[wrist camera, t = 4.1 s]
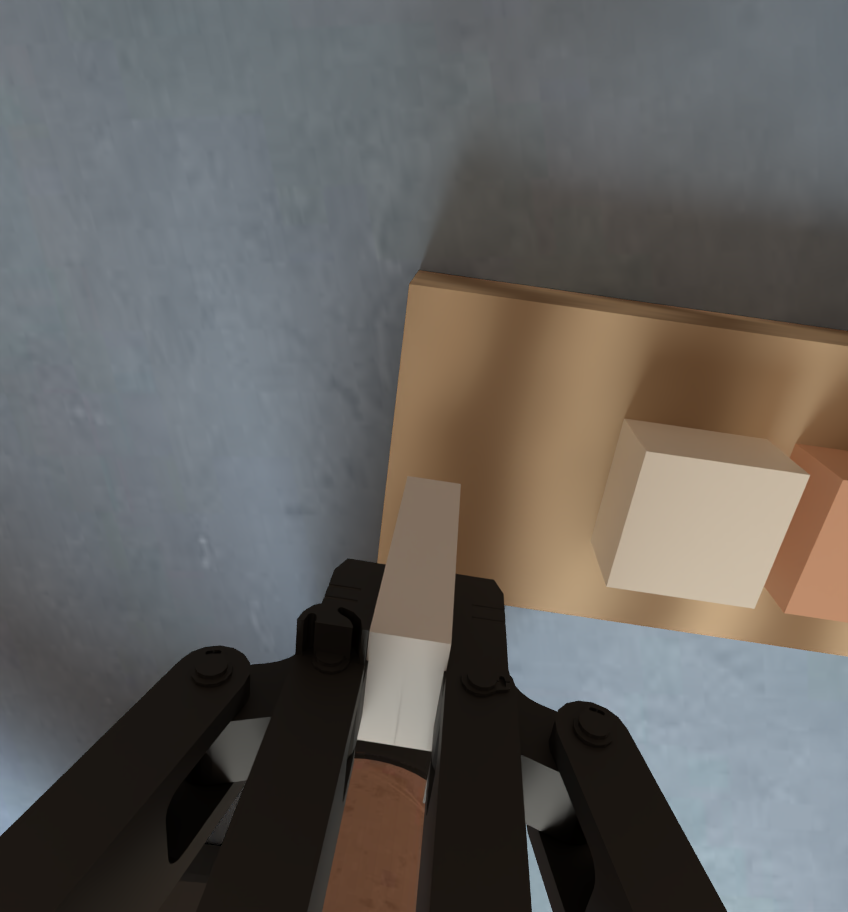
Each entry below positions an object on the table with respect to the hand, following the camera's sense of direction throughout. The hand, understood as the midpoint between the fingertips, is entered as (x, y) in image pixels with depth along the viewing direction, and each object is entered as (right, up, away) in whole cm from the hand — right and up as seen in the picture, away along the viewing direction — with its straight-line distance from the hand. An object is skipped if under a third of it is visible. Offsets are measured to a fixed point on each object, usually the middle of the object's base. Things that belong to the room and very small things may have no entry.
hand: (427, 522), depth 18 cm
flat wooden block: (+9, +2, +9) cm, 13 cm away
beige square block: (+9, +1, +5) cm, 10 cm away
